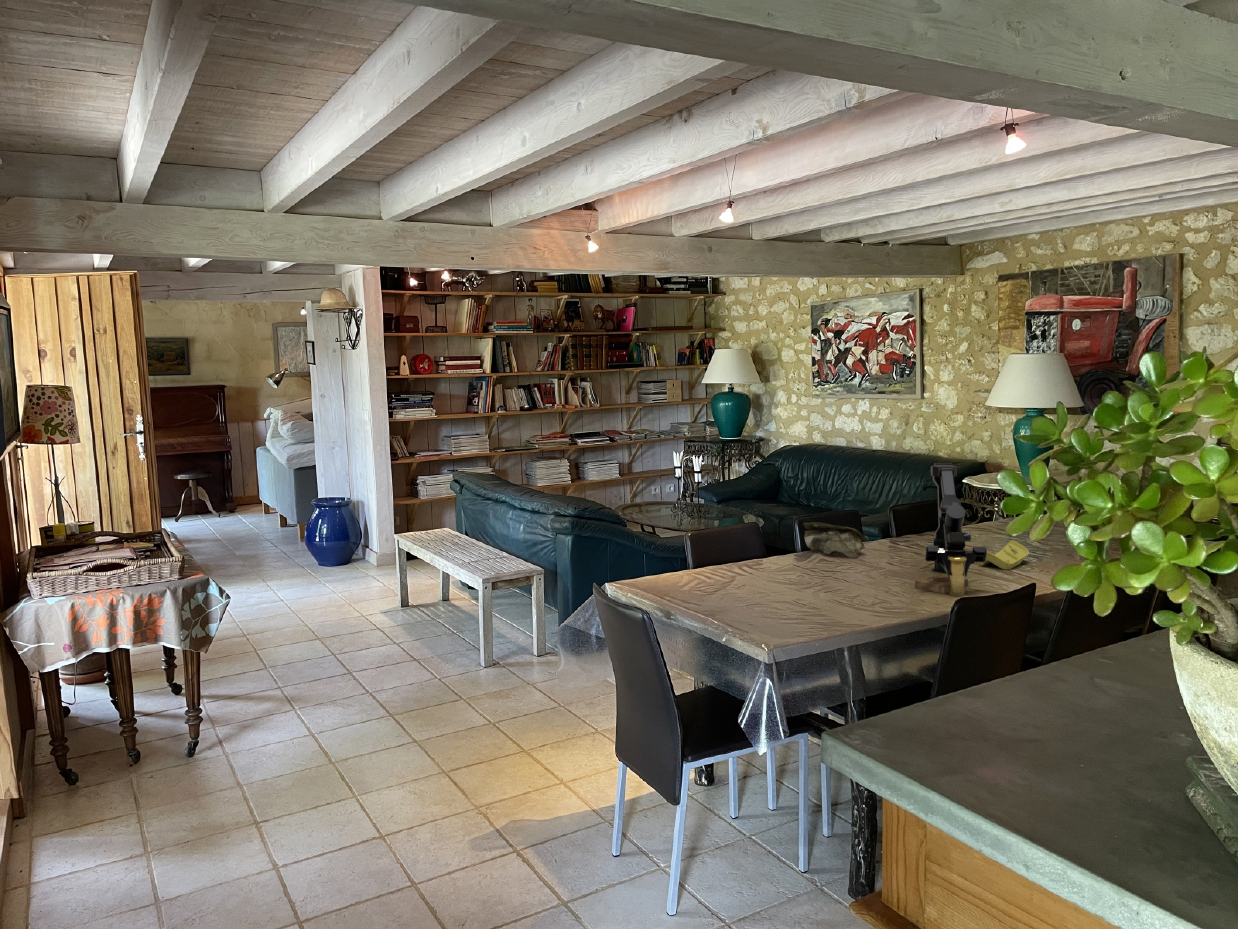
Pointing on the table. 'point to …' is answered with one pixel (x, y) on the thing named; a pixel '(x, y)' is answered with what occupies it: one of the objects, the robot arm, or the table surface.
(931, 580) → the jig
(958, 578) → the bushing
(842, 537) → the hollow geode rock
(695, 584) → the table surface
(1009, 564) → the plastic component
